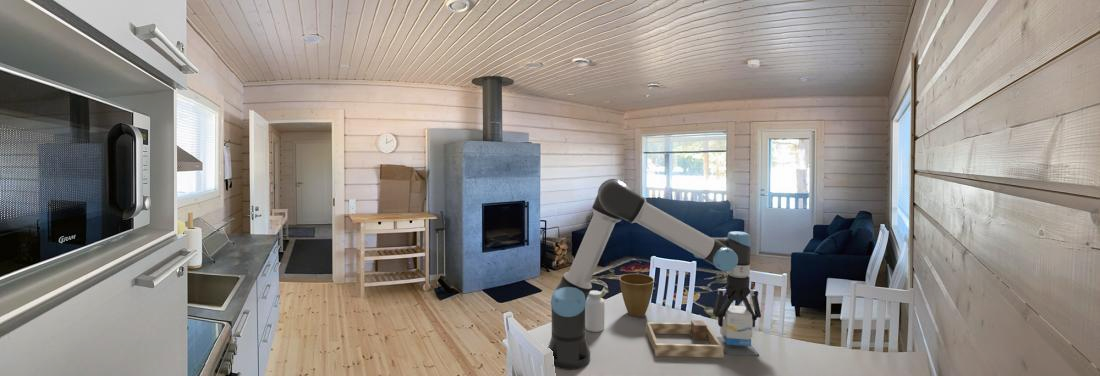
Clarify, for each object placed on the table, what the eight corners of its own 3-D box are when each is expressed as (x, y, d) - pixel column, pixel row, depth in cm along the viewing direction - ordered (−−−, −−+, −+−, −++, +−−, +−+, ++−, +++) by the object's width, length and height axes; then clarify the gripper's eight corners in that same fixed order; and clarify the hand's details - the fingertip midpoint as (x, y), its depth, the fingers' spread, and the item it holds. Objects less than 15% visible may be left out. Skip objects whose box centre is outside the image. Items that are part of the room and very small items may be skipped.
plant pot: (618, 307, 188) (618, 273, 187) (650, 308, 187) (651, 273, 185) (620, 320, 173) (620, 283, 172) (656, 321, 172) (656, 284, 170)
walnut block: (694, 340, 154) (694, 325, 154) (690, 335, 159) (691, 320, 158) (706, 340, 154) (706, 325, 153) (702, 335, 158) (703, 320, 158)
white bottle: (607, 326, 167) (607, 291, 165) (599, 334, 160) (599, 297, 159) (590, 322, 171) (590, 287, 170) (581, 329, 164) (581, 293, 163)
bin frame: (655, 355, 143) (655, 344, 142) (646, 332, 161) (646, 322, 161) (723, 357, 141) (723, 346, 141) (705, 333, 160) (706, 323, 159)
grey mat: (726, 354, 143) (726, 353, 143) (714, 338, 156) (714, 336, 156) (759, 355, 142) (759, 354, 142) (744, 338, 155) (744, 337, 155)
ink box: (751, 346, 144) (752, 314, 143) (726, 344, 145) (727, 312, 144) (745, 336, 152) (746, 305, 151) (720, 334, 154) (721, 304, 153)
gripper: (710, 277, 144) (709, 338, 146) (774, 278, 142) (771, 340, 144) (704, 271, 151) (702, 329, 153) (764, 272, 150) (761, 331, 151)
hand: (735, 335), depth 148 cm, fingers closed on ink box, 9 cm apart
